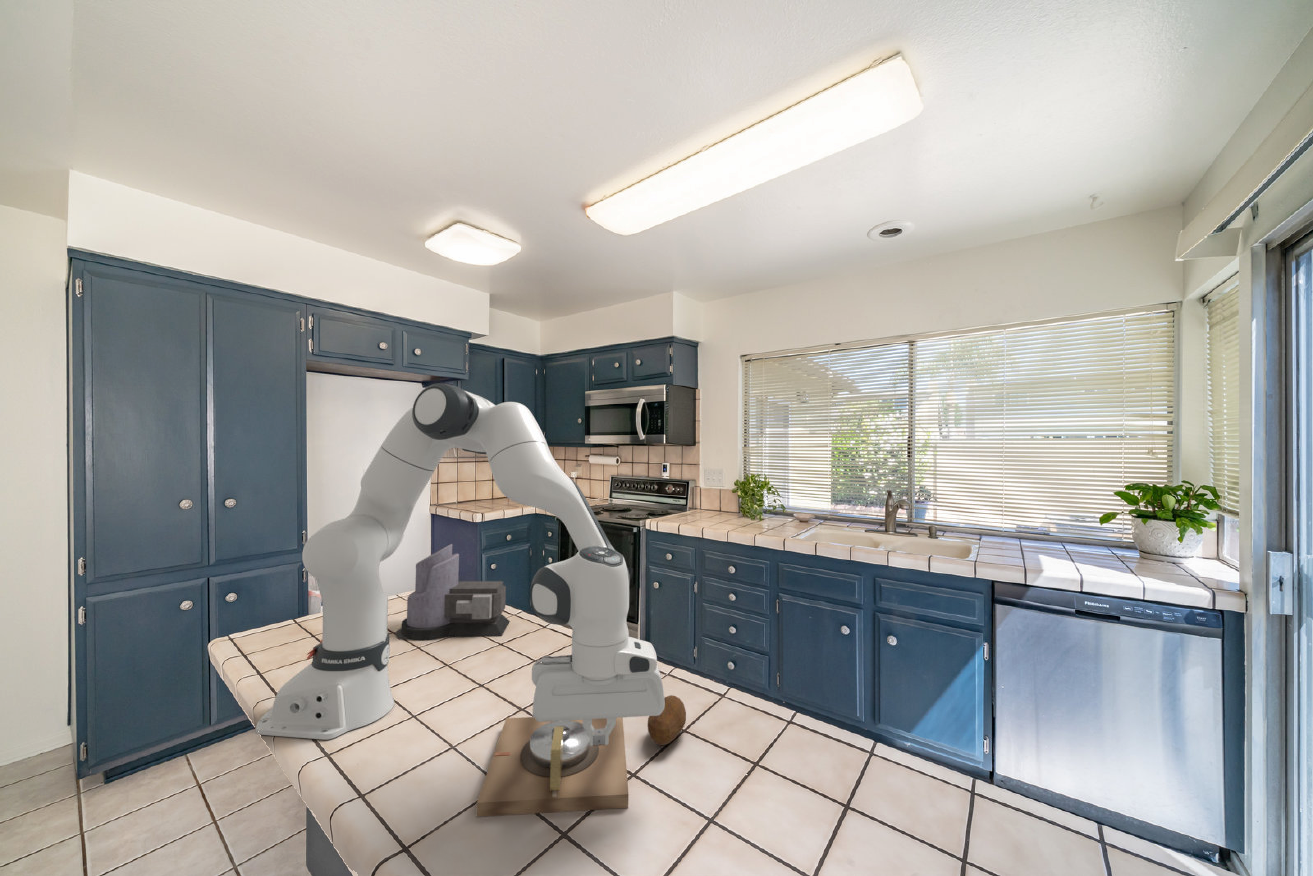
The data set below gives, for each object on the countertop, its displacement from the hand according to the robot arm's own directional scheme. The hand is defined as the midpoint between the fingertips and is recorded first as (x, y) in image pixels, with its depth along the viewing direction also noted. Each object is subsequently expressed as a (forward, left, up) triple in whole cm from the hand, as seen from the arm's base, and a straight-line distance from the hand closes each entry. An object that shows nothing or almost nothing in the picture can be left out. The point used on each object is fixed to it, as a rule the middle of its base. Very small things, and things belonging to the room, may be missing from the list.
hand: (599, 743), depth 76 cm
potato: (+13, +14, -8) cm, 20 cm away
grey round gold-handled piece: (-6, +5, -5) cm, 10 cm away
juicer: (-42, +70, -8) cm, 82 cm away
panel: (-6, +8, -8) cm, 13 cm away
